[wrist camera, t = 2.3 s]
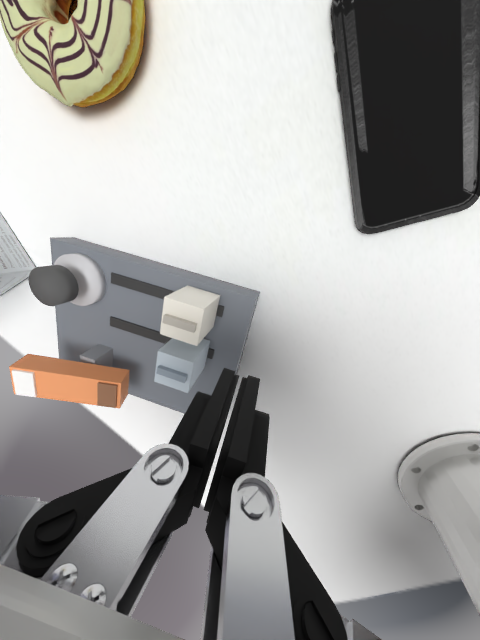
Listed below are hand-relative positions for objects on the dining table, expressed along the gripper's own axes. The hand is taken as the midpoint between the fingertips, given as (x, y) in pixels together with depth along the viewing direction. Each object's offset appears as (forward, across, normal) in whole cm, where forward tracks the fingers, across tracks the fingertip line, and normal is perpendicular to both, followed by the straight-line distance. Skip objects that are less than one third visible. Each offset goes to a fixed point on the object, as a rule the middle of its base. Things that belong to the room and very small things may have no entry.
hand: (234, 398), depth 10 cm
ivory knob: (+10, +5, 0) cm, 11 cm away
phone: (+14, -5, -17) cm, 22 cm away
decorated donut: (+14, +19, -18) cm, 29 cm away
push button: (+9, +17, +1) cm, 19 cm away
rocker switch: (+7, +15, +10) cm, 19 cm away
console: (+13, +11, +6) cm, 18 cm away
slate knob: (+10, +5, +5) cm, 12 cm away
